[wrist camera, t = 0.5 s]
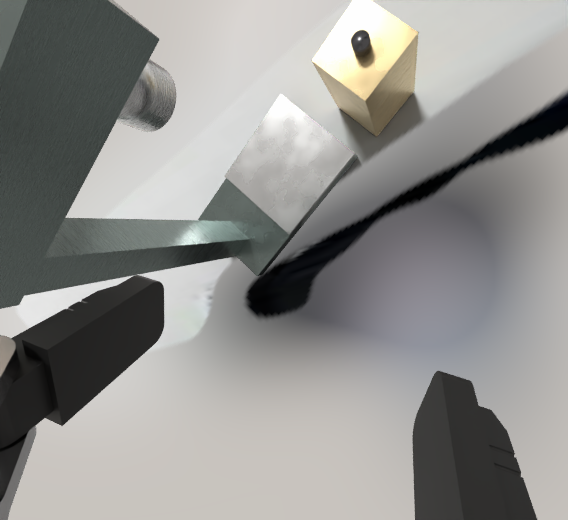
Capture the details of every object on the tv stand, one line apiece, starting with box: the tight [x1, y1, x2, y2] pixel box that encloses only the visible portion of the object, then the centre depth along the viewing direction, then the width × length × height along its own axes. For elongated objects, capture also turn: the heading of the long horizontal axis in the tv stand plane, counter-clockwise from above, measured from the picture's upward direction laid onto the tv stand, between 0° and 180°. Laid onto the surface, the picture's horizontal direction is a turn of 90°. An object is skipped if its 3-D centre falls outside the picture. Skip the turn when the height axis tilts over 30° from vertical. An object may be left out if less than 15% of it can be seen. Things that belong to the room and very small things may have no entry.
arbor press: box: [0, 0, 357, 309], centre depth 24 cm, size 16×13×28 cm
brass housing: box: [312, 0, 418, 137], centre depth 27 cm, size 5×5×11 cm
